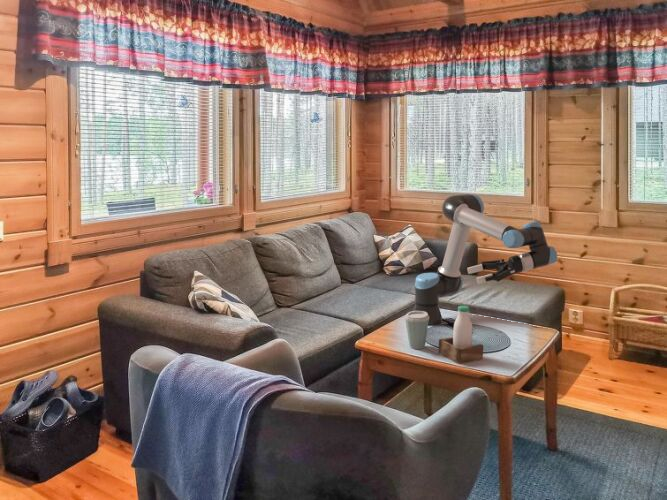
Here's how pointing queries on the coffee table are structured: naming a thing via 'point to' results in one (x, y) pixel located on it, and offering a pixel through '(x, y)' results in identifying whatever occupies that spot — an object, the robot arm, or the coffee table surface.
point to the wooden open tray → (460, 351)
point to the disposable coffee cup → (417, 328)
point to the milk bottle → (462, 328)
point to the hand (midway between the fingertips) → (472, 275)
